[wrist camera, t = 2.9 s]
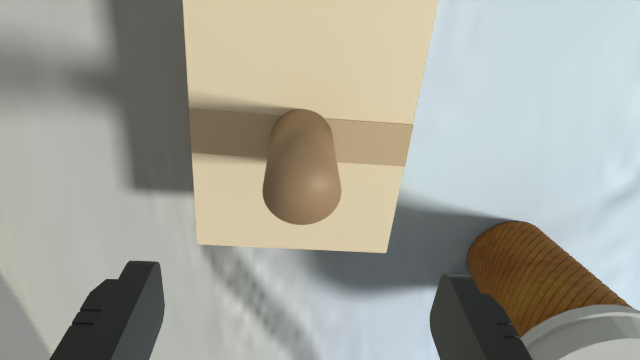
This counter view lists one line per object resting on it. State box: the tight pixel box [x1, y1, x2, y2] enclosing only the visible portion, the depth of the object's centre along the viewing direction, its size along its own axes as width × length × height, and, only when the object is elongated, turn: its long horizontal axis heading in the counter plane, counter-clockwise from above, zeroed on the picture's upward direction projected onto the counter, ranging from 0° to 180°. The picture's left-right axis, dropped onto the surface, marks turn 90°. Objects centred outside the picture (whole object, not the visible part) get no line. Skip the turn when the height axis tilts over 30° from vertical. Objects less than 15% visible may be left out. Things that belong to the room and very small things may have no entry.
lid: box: [183, 0, 439, 253], centre depth 20 cm, size 11×14×7 cm
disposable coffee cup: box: [467, 222, 640, 360], centre depth 28 cm, size 10×10×12 cm
